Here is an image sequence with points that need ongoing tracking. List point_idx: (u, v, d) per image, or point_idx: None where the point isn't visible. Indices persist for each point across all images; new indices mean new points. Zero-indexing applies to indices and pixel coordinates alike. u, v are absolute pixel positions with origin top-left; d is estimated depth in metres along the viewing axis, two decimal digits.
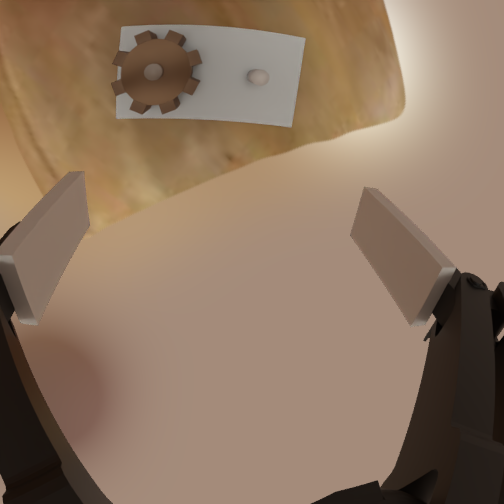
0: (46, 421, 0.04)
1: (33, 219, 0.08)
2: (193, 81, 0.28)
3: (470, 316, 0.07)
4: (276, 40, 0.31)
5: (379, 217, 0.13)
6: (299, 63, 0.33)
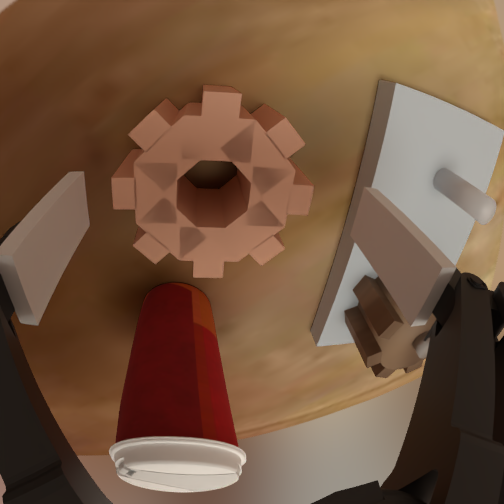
0: (46, 421, 0.04)
1: (33, 219, 0.08)
2: None
3: (470, 316, 0.07)
4: (397, 139, 0.17)
5: (379, 217, 0.13)
6: (436, 102, 0.16)
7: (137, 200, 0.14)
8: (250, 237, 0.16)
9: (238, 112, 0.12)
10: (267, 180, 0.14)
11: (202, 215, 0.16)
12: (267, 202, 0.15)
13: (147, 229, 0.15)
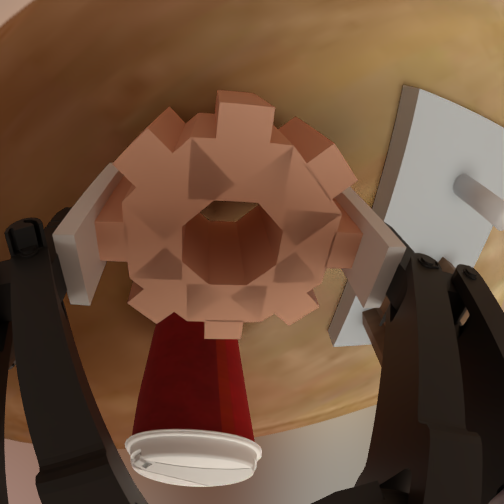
0: (92, 407, 0.05)
1: (87, 203, 0.09)
2: None
3: (425, 299, 0.08)
4: (420, 144, 0.17)
5: None
6: (458, 108, 0.15)
7: (129, 251, 0.10)
8: (277, 295, 0.12)
9: (269, 134, 0.09)
10: (304, 227, 0.11)
11: (216, 264, 0.13)
12: (302, 254, 0.11)
13: (144, 285, 0.11)
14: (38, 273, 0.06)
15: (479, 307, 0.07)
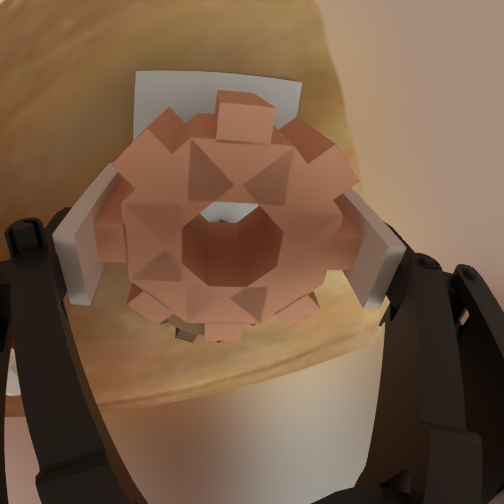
0: (92, 407, 0.05)
1: (87, 203, 0.09)
2: None
3: (425, 299, 0.08)
4: (147, 117, 0.20)
5: None
6: (184, 74, 0.19)
7: (129, 252, 0.10)
8: (278, 297, 0.12)
9: (270, 135, 0.09)
10: (305, 228, 0.11)
11: (216, 266, 0.13)
12: (303, 256, 0.11)
13: (144, 287, 0.11)
14: (38, 273, 0.06)
15: (479, 307, 0.07)
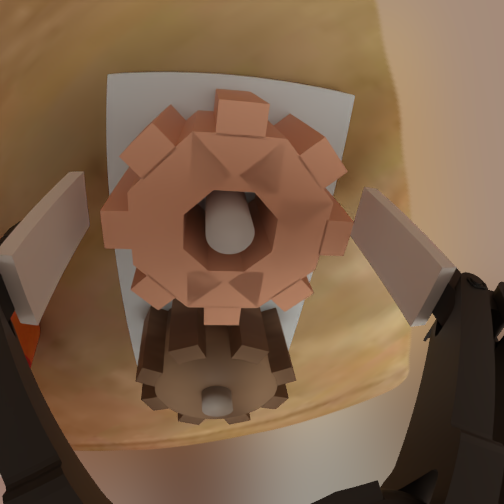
0: (46, 421, 0.04)
1: (33, 219, 0.08)
2: (239, 352, 0.15)
3: (470, 316, 0.07)
4: (125, 143, 0.14)
5: (379, 217, 0.13)
6: (180, 78, 0.12)
7: (134, 238, 0.11)
8: (273, 282, 0.13)
9: (264, 128, 0.10)
10: (298, 215, 0.11)
11: (215, 253, 0.13)
12: (296, 242, 0.12)
13: (147, 272, 0.12)
14: None
15: None
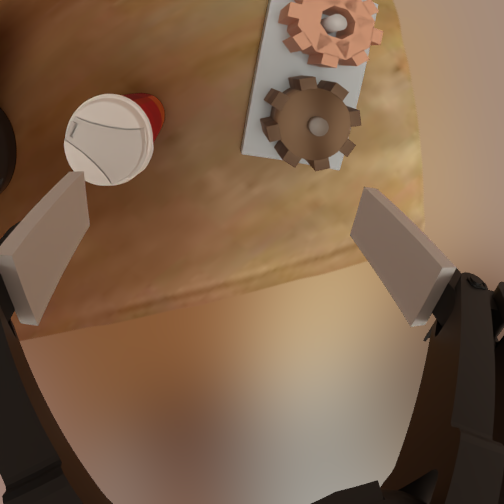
0: (46, 421, 0.04)
1: (33, 219, 0.08)
2: (334, 88, 0.26)
3: (470, 316, 0.07)
4: (280, 0, 0.25)
5: (379, 217, 0.13)
6: None
7: (301, 14, 0.22)
8: (353, 48, 0.24)
9: None
10: (362, 22, 0.22)
11: None
12: (362, 32, 0.23)
13: (303, 30, 0.23)
14: None
15: None
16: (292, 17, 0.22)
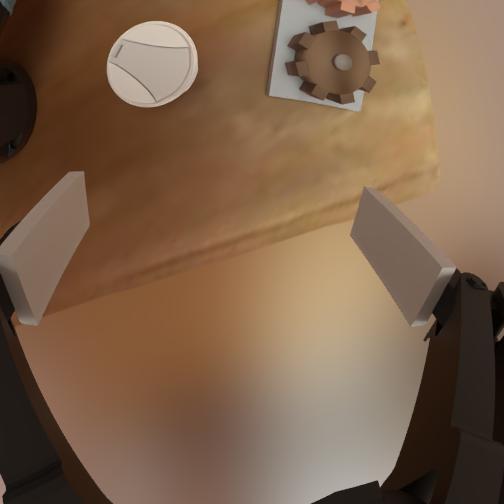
0: (46, 421, 0.04)
1: (33, 219, 0.08)
2: (353, 30, 0.25)
3: (470, 316, 0.07)
4: None
5: (379, 217, 0.13)
6: None
7: None
8: None
9: None
10: None
11: None
12: None
13: None
14: None
15: None
16: None
